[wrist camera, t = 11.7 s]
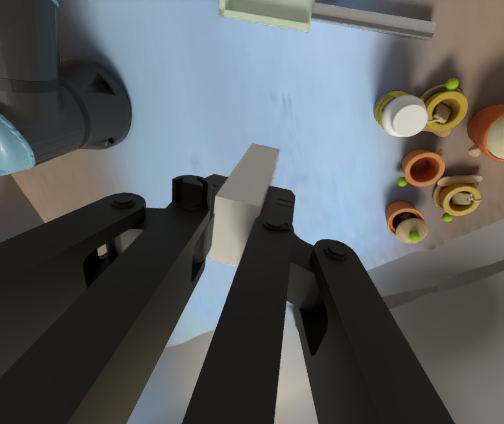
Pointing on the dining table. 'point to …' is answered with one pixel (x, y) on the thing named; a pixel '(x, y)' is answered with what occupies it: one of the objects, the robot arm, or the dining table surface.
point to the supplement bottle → (400, 113)
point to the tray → (270, 12)
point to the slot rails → (373, 21)
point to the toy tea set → (432, 164)
